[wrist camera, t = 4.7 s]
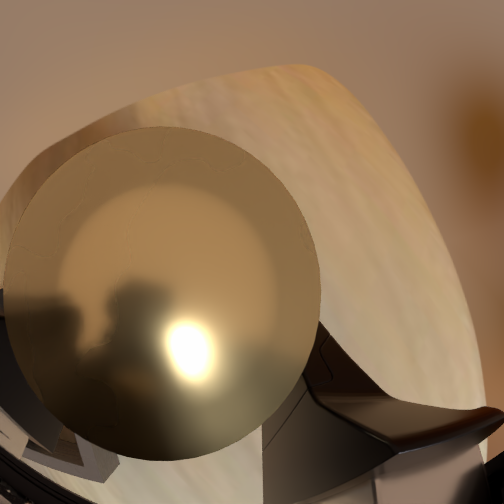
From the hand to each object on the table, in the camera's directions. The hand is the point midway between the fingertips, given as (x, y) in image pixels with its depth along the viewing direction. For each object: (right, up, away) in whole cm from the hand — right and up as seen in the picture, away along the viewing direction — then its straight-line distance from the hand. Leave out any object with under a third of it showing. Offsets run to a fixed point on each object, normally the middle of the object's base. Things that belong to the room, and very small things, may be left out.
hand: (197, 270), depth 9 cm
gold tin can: (-1, -3, +6) cm, 7 cm away
